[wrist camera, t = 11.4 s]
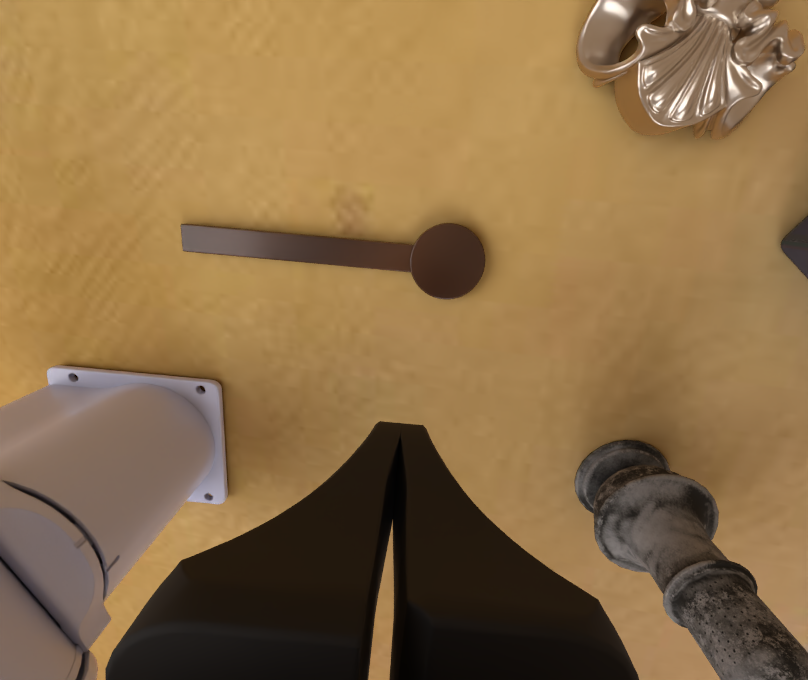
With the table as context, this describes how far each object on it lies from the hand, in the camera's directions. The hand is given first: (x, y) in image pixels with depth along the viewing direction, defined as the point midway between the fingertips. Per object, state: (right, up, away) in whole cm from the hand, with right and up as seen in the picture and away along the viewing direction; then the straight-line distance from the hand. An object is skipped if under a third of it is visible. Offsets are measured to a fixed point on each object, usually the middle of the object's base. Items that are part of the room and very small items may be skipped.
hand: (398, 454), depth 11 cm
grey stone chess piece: (+13, -5, +12) cm, 18 cm away
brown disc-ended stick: (-3, +8, +9) cm, 12 cm away
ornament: (+11, +15, +6) cm, 20 cm away
